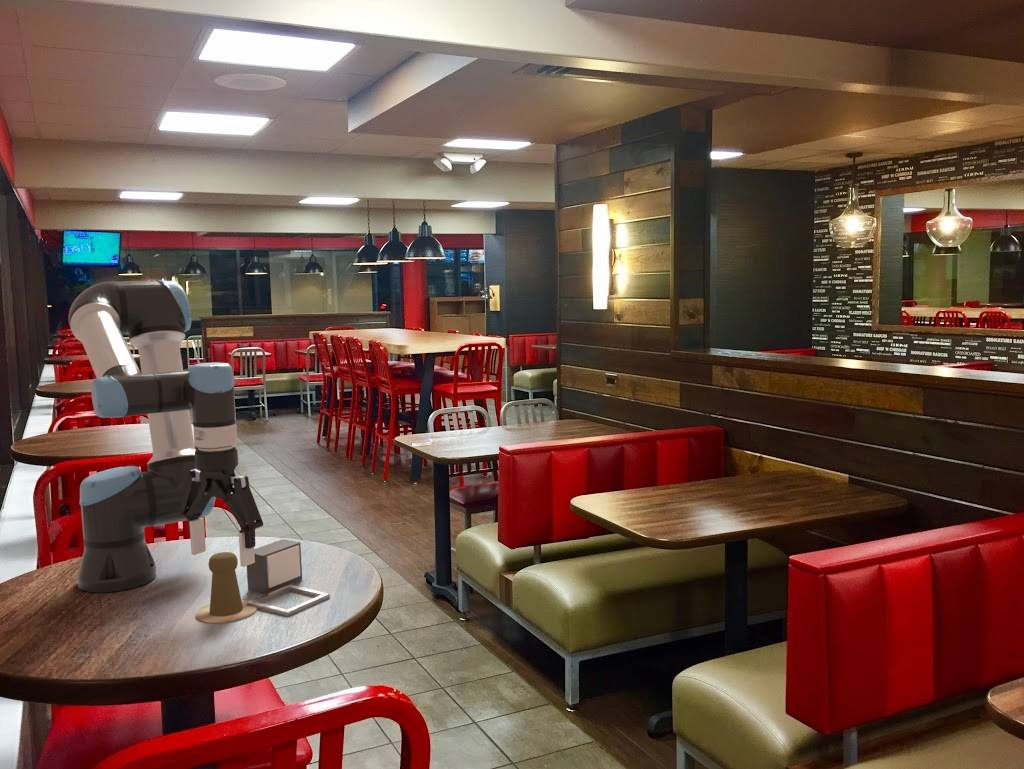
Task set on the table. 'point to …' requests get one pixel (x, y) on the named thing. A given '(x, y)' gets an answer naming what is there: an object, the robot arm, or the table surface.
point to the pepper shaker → (224, 585)
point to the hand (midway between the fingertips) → (222, 558)
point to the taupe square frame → (318, 598)
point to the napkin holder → (275, 566)
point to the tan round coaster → (206, 617)
